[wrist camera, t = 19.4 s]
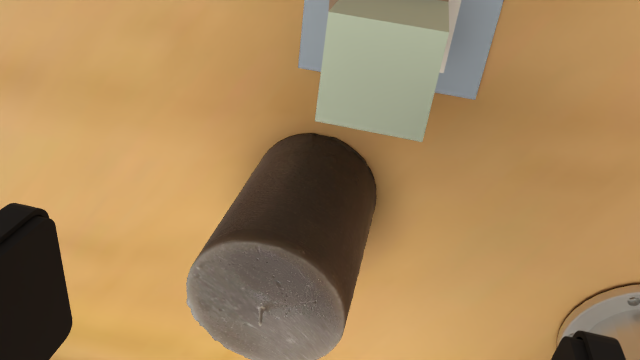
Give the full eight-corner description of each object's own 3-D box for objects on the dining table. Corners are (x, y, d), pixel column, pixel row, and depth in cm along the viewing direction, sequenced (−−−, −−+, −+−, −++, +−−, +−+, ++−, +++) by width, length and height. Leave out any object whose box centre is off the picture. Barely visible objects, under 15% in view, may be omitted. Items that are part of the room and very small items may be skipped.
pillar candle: (349, 116, 38) (297, 237, 26) (394, 225, 42) (368, 376, 29) (236, 152, 42) (141, 273, 29) (287, 249, 46) (222, 394, 33)
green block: (448, 1, 26) (449, 32, 21) (426, 95, 29) (422, 142, 24) (350, -15, 27) (328, 11, 22) (337, 78, 30) (315, 121, 25)
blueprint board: (520, -68, 31) (522, -66, 30) (474, 94, 36) (475, 100, 35) (317, -97, 32) (313, -96, 31) (301, 63, 37) (297, 68, 36)
